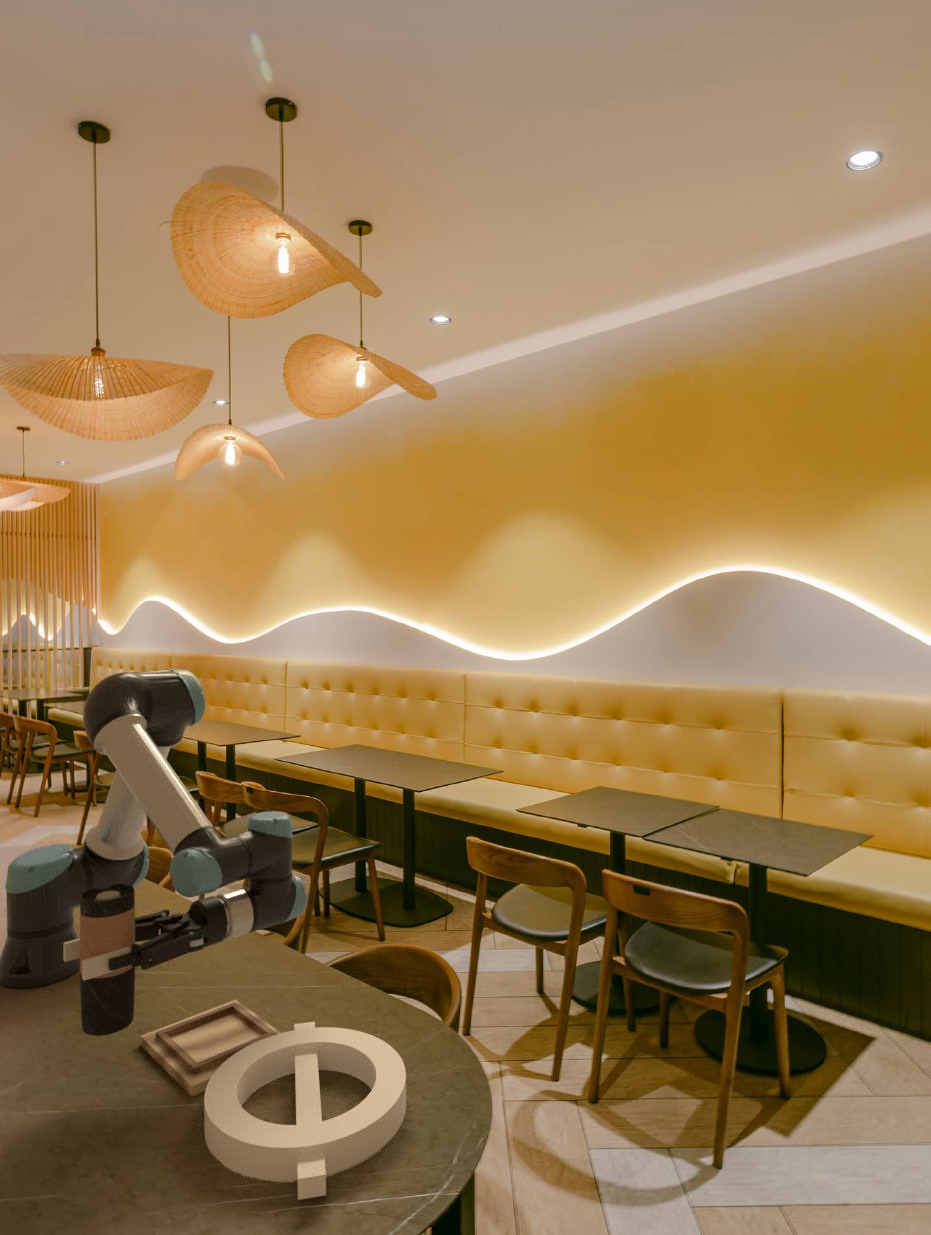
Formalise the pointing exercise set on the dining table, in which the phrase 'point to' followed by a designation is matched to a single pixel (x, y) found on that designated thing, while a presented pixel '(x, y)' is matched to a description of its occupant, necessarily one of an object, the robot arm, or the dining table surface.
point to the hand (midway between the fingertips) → (73, 961)
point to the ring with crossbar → (304, 1106)
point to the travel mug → (101, 932)
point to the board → (204, 1043)
